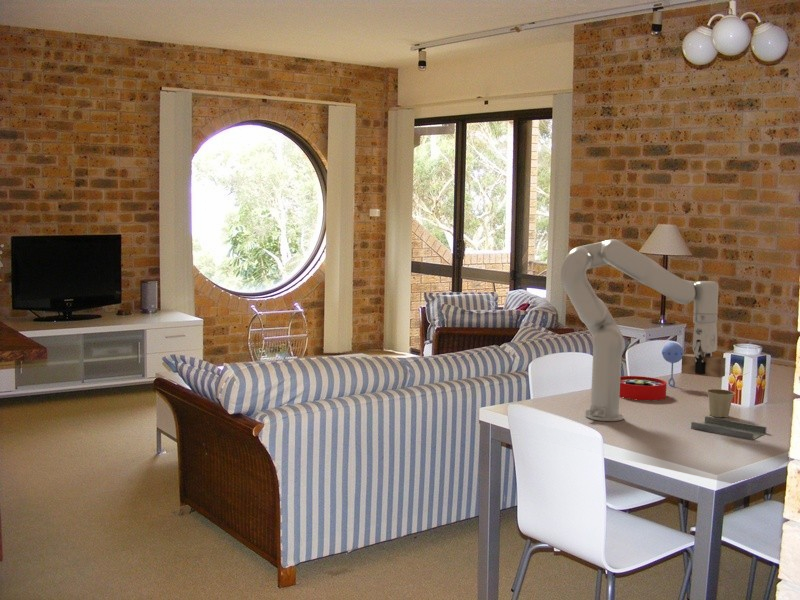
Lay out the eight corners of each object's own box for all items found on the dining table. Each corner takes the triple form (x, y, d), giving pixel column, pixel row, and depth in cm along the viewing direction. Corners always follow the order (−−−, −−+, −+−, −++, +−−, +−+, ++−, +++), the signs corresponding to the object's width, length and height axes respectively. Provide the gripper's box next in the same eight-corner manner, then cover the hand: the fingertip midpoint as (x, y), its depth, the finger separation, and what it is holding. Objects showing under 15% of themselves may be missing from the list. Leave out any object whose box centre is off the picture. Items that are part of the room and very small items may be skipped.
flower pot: (732, 414, 312) (733, 390, 311) (734, 420, 303) (736, 395, 302) (704, 411, 314) (705, 388, 313) (705, 417, 305) (707, 393, 304)
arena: (752, 439, 276) (752, 433, 276) (691, 428, 289) (691, 422, 289) (766, 433, 285) (766, 427, 285) (706, 422, 299) (706, 416, 298)
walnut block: (681, 373, 295) (681, 355, 294) (686, 371, 299) (686, 353, 298) (720, 377, 287) (721, 359, 286) (724, 375, 291) (725, 357, 290)
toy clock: (656, 388, 326) (605, 381, 337) (655, 403, 326) (604, 396, 338) (673, 380, 342) (624, 373, 353) (672, 395, 343) (623, 388, 354)
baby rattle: (655, 384, 363) (658, 341, 361) (673, 383, 365) (676, 340, 363) (667, 388, 354) (670, 344, 353) (686, 387, 357) (688, 343, 355)
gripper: (706, 321, 282) (704, 377, 284) (725, 317, 295) (723, 370, 297) (684, 319, 287) (682, 374, 289) (703, 315, 300) (701, 368, 302)
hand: (703, 372), depth 293 cm, fingers closed on walnut block, 4 cm apart
